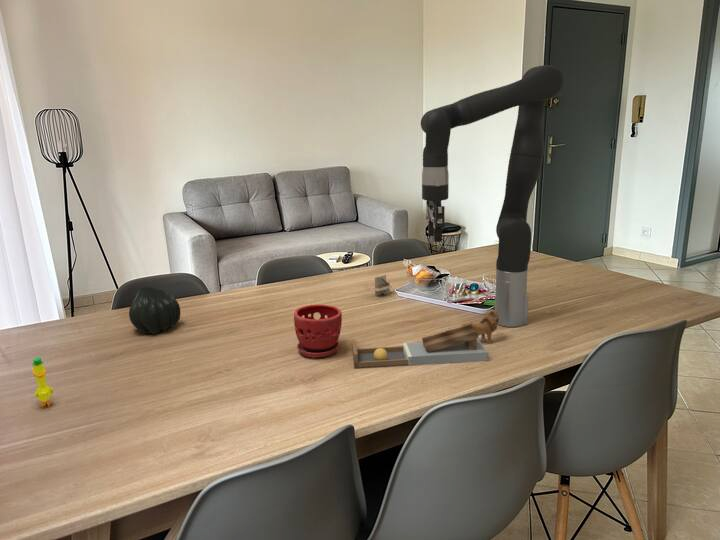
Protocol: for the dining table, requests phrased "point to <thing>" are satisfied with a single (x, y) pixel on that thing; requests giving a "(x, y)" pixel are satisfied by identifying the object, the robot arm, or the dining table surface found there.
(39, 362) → the toy figure
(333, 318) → the plant pot
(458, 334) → the ramp
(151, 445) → the dining table surface
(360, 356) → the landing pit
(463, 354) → the deck
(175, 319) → the squash
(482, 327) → the lion figurine
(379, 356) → the ball
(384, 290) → the architectural model
